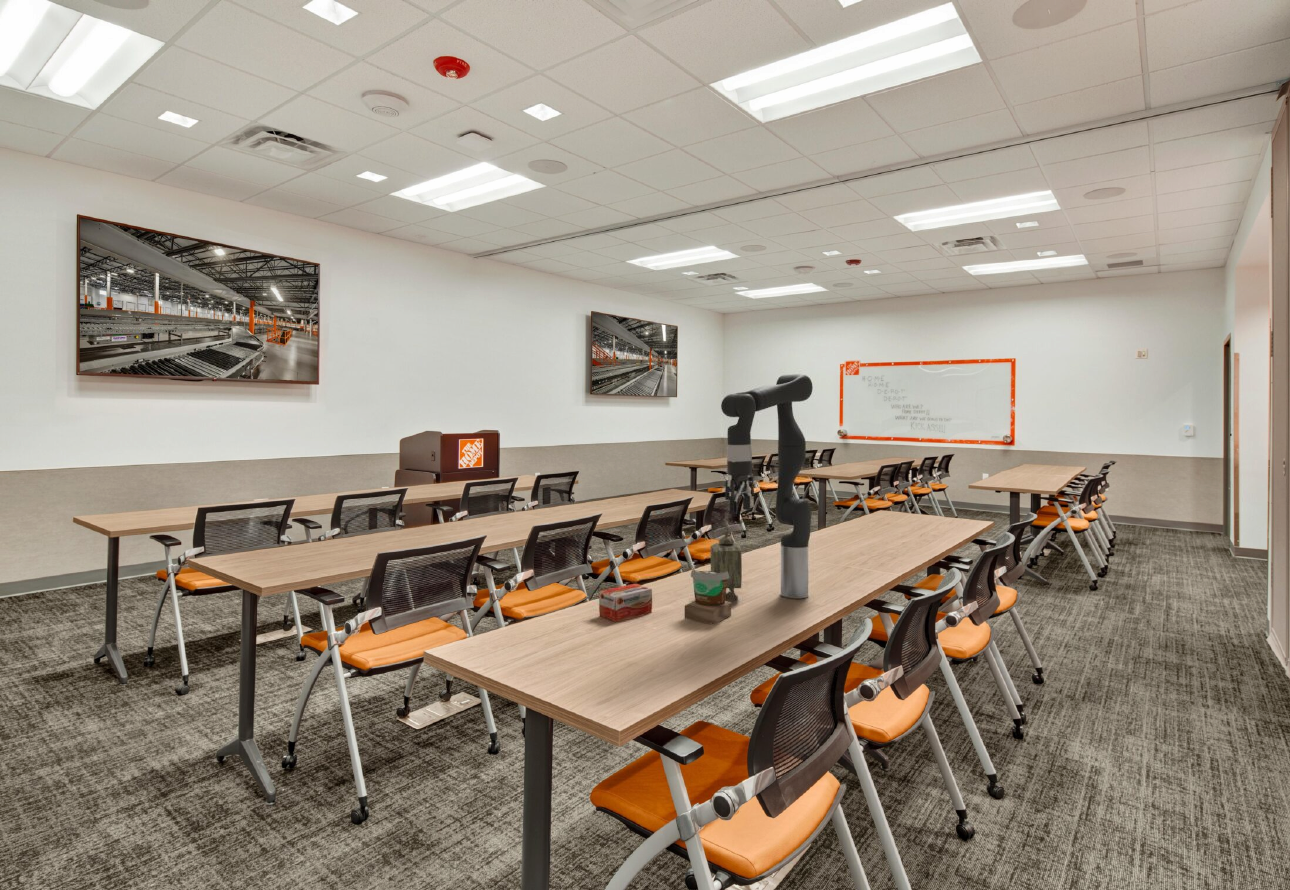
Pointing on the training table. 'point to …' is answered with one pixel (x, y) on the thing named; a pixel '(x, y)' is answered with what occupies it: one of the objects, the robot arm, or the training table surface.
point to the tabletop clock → (728, 561)
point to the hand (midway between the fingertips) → (740, 511)
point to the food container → (709, 587)
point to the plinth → (707, 612)
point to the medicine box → (625, 602)
